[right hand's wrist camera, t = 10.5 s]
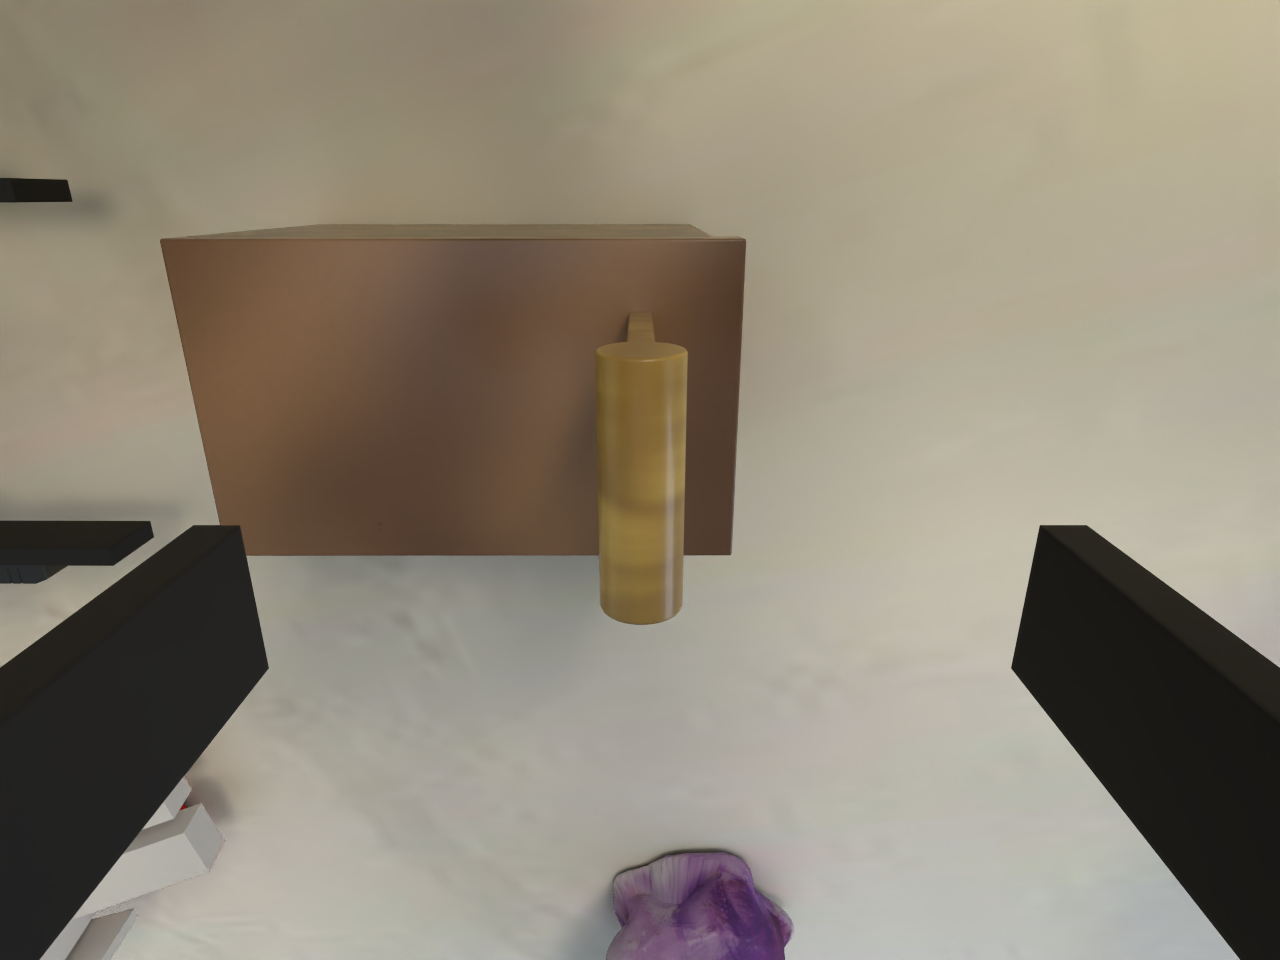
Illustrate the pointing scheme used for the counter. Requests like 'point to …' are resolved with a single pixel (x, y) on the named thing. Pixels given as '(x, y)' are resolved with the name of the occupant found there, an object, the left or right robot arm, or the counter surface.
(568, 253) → the lid
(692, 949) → the figurine
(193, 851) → the toy
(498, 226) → the chest
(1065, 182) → the counter surface
